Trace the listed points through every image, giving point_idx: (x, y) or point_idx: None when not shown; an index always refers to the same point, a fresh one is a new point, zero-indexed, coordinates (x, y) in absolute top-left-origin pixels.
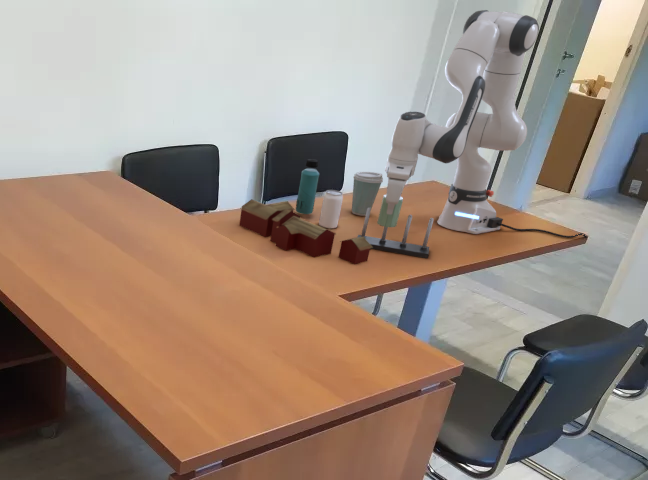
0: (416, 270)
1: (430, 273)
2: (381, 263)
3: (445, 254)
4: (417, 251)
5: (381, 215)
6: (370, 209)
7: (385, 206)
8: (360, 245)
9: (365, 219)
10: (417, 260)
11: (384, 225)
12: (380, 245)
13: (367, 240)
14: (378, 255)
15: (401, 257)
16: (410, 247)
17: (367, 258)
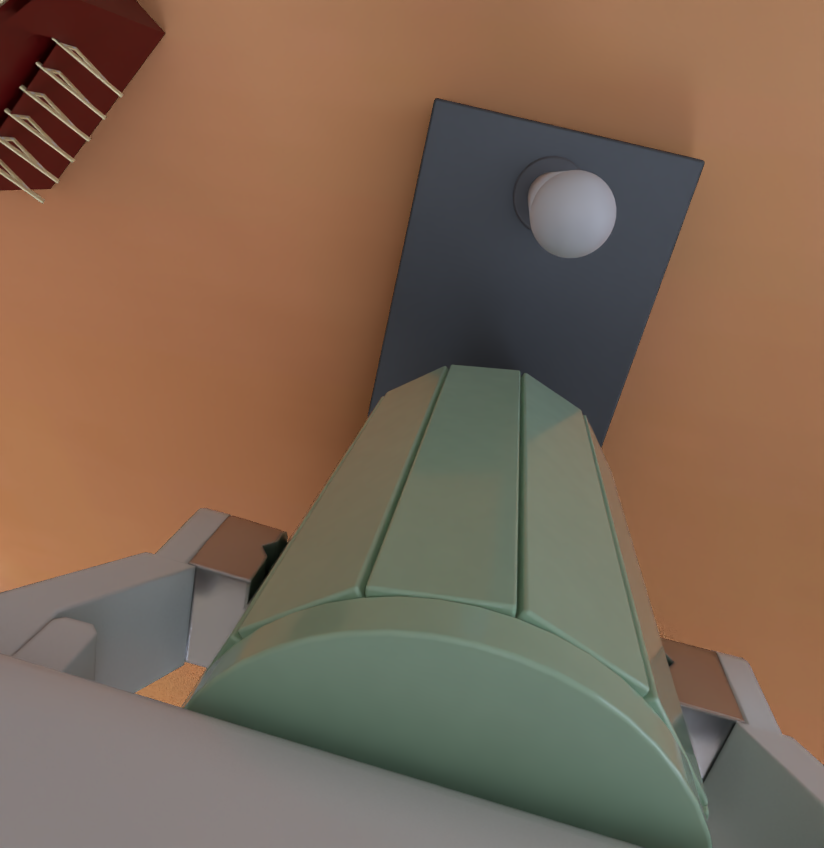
0: (37, 550)
1: None
2: (54, 313)
3: None
4: None
5: (380, 432)
6: (544, 245)
7: (289, 544)
8: (15, 84)
9: (541, 179)
10: None
11: (351, 442)
12: (382, 368)
13: (505, 250)
14: (240, 321)
15: (267, 509)
16: None
17: (29, 184)
